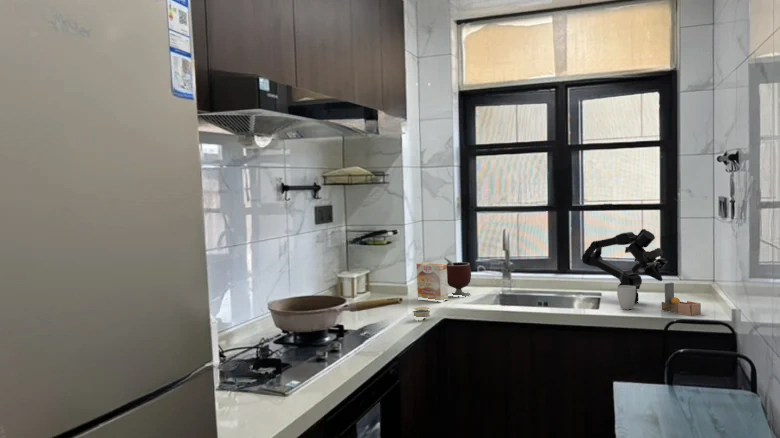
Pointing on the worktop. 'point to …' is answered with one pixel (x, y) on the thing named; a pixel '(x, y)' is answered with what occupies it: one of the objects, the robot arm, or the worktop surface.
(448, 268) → the mate gourd
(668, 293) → the plunger
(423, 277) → the coffeecake box
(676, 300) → the ball
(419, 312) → the stacked layers on plate
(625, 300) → the cup
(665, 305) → the tray
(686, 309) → the cup
